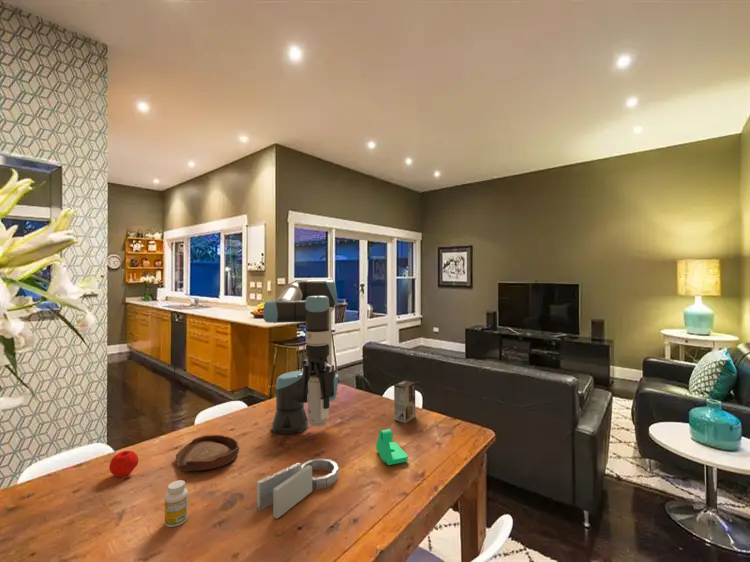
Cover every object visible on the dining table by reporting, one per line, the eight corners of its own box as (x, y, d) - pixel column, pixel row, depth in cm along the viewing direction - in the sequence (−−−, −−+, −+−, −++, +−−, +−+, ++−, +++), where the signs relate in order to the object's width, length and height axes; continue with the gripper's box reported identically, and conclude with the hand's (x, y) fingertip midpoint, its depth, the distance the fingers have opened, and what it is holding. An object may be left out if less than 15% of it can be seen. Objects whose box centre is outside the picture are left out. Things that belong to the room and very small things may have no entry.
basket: (166, 459, 126) (166, 445, 126) (222, 440, 141) (222, 428, 141) (190, 483, 111) (190, 468, 111) (250, 459, 125) (250, 445, 125)
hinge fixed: (247, 499, 102) (247, 474, 102) (321, 463, 122) (321, 442, 122) (270, 519, 94) (269, 491, 94) (345, 477, 114) (345, 454, 114)
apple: (144, 470, 118) (144, 448, 118) (120, 483, 111) (120, 460, 111) (127, 466, 121) (127, 445, 121) (103, 479, 113) (103, 456, 113)
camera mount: (408, 464, 122) (408, 434, 122) (388, 468, 119) (388, 438, 119) (395, 448, 133) (394, 421, 133) (376, 452, 130) (376, 424, 130)
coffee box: (404, 413, 167) (403, 379, 167) (415, 416, 163) (415, 382, 163) (393, 420, 159) (393, 384, 159) (405, 423, 156) (405, 387, 156)
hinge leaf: (273, 516, 94) (273, 488, 94) (308, 489, 106) (308, 465, 106) (277, 518, 93) (277, 490, 93) (312, 491, 105) (312, 466, 105)
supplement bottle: (171, 514, 96) (170, 479, 96) (191, 513, 96) (191, 477, 96) (160, 528, 91) (160, 490, 91) (182, 526, 91) (182, 489, 91)
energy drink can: (310, 418, 116) (310, 373, 116) (328, 419, 116) (328, 373, 116) (306, 426, 110) (306, 378, 110) (325, 426, 110) (325, 378, 110)
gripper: (290, 341, 117) (291, 411, 117) (327, 349, 104) (327, 427, 104) (309, 339, 122) (309, 405, 122) (346, 345, 109) (346, 419, 109)
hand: (317, 415), depth 113 cm, fingers closed on energy drink can, 6 cm apart
